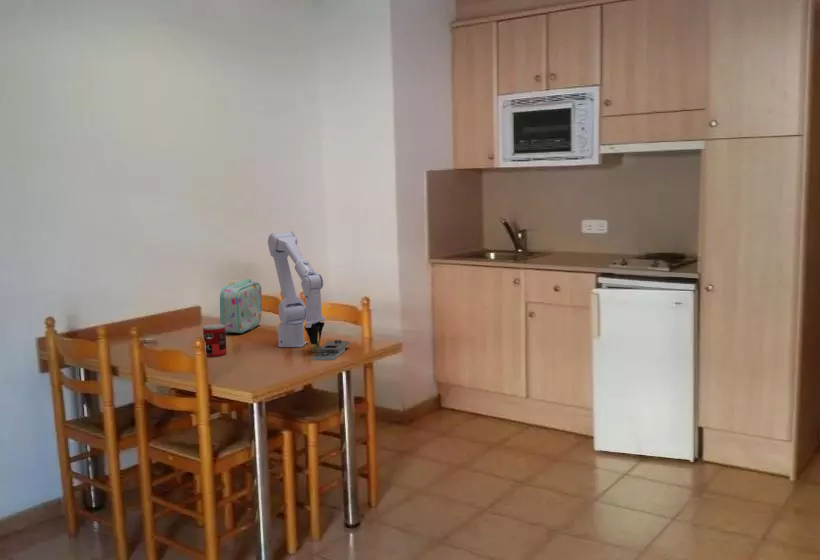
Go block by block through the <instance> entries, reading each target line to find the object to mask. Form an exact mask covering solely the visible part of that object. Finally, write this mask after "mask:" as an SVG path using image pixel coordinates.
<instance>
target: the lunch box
mask: <svg viewBox="0 0 820 560" xmlns="http://www.w3.org/2000/svg"><path fill="white" fill-rule="evenodd" d="M220 290H221V291H220V294H219V317H220V318H219V322H220V323H219V324H223V325H225V334H226V333H233V334H243V333H245V332H247V331H250V330H254V329H255V328H256V327H258V326H259V325H260V323H261V319H262V305H263V304H262V303H263V302H262V285H261V284H260V282H257V281H252V280H251V279H249V278H245V279H244V280H239V281H236V282H234V283H232V284H231V283H230V284H229V285H224V286H223V287H222V288H221V289H220Z"/></svg>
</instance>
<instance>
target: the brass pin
mask: <svg viewBox="0 0 820 560" xmlns="http://www.w3.org/2000/svg"><path fill="white" fill-rule="evenodd" d="M320 344H321V341H320V342H319V331H318V339H317V344H311V352H312V353H318V352H317V349H318V348H320V347H321V345H320Z"/></svg>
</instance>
